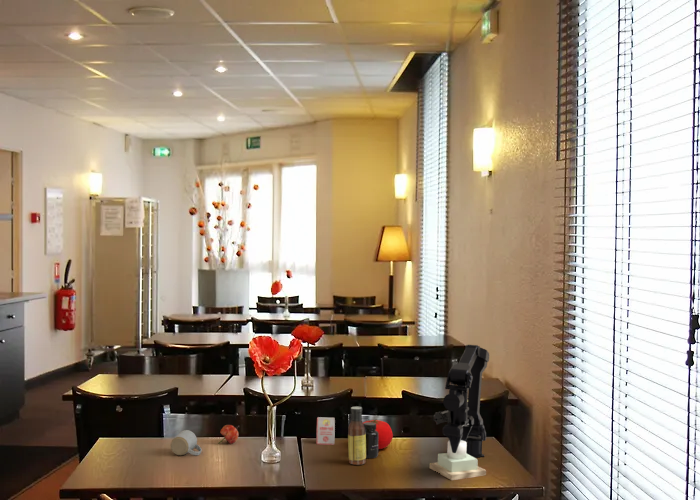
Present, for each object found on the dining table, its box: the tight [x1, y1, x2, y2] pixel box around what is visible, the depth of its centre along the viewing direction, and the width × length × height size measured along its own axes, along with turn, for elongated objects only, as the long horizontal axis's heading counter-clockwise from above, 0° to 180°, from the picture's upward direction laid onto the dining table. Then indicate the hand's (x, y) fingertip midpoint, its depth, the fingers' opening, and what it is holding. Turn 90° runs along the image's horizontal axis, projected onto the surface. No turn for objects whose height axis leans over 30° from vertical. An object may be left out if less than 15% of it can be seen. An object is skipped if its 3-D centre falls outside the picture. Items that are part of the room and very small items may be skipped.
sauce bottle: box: [347, 406, 367, 466], centre depth 281 cm, size 7×6×20 cm
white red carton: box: [315, 416, 336, 446], centre depth 306 cm, size 4×7×10 cm, turn 88°
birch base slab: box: [429, 461, 487, 481], centre depth 274 cm, size 14×14×2 cm
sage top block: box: [437, 452, 479, 472], centre depth 274 cm, size 10×10×4 cm
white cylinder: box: [446, 440, 467, 459], centre depth 274 cm, size 6×6×5 cm
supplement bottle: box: [363, 422, 379, 459], centre depth 290 cm, size 7×7×12 cm
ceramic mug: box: [170, 429, 203, 456], centre depth 289 cm, size 11×8×8 cm
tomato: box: [362, 419, 394, 450], centre depth 301 cm, size 14×13×10 cm
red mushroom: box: [217, 424, 240, 445], centre depth 304 cm, size 7×7×10 cm
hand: (458, 449), depth 274 cm, fingers open, 9 cm apart
